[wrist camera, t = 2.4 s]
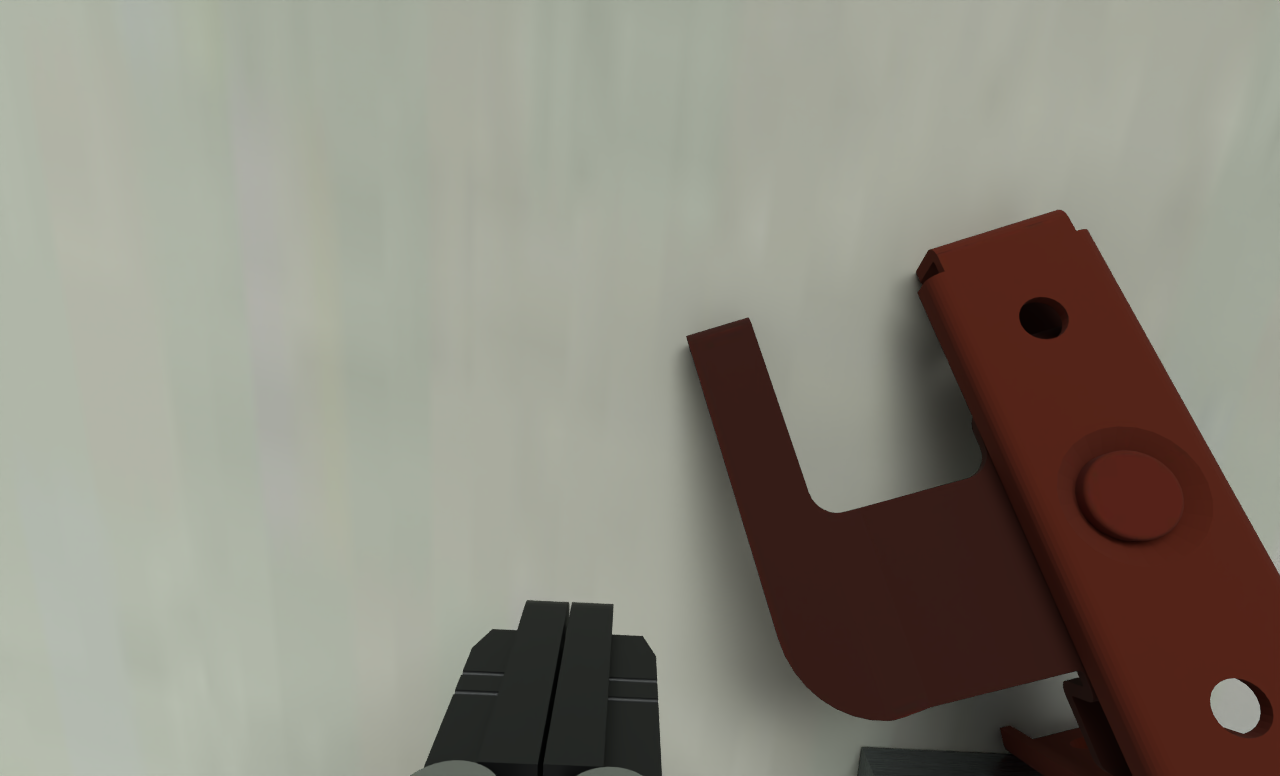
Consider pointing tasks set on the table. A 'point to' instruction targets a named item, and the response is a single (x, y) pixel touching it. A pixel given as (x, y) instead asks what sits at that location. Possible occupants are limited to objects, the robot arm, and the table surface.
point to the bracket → (1024, 529)
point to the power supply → (939, 763)
